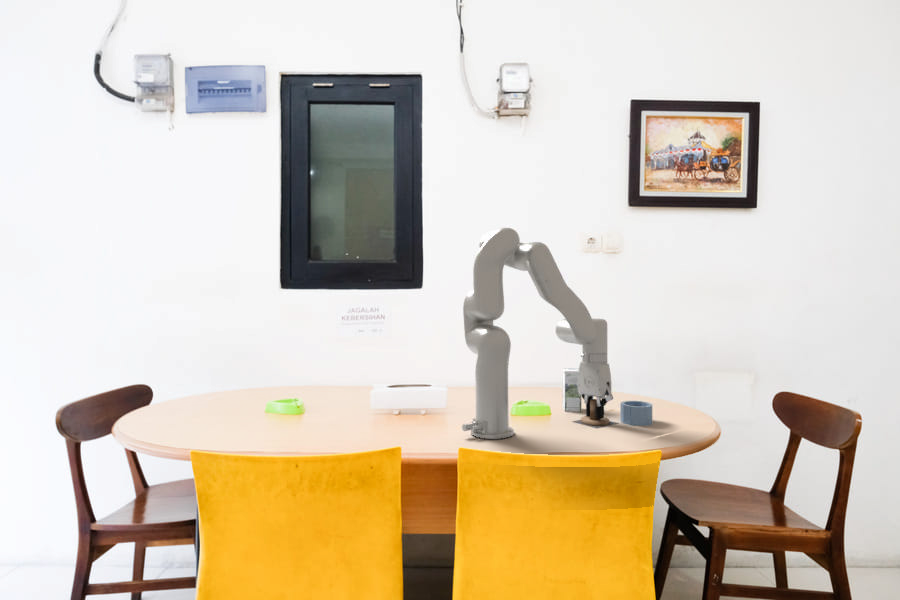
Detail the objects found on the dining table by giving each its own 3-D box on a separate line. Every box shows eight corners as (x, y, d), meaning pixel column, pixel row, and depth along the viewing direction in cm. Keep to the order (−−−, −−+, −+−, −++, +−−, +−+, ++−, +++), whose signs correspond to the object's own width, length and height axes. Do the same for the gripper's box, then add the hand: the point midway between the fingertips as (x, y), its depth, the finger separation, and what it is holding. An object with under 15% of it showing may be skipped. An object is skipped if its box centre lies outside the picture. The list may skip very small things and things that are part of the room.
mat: (597, 429, 158) (597, 428, 158) (571, 422, 166) (571, 421, 166) (618, 424, 164) (618, 423, 164) (593, 418, 172) (593, 416, 172)
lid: (596, 427, 159) (596, 404, 159) (574, 421, 166) (574, 399, 166) (615, 423, 164) (615, 400, 164) (593, 417, 171) (593, 396, 171)
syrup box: (579, 409, 185) (579, 367, 184) (581, 413, 179) (581, 370, 179) (562, 408, 185) (562, 367, 185) (564, 412, 179) (564, 370, 179)
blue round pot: (639, 428, 159) (639, 408, 159) (614, 422, 167) (614, 403, 166) (658, 423, 164) (658, 404, 164) (633, 417, 172) (633, 399, 172)
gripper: (566, 356, 169) (567, 413, 170) (608, 362, 156) (608, 424, 156) (582, 354, 173) (583, 410, 174) (624, 360, 160) (624, 420, 160)
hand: (595, 416), depth 165 cm, fingers closed on lid, 3 cm apart
